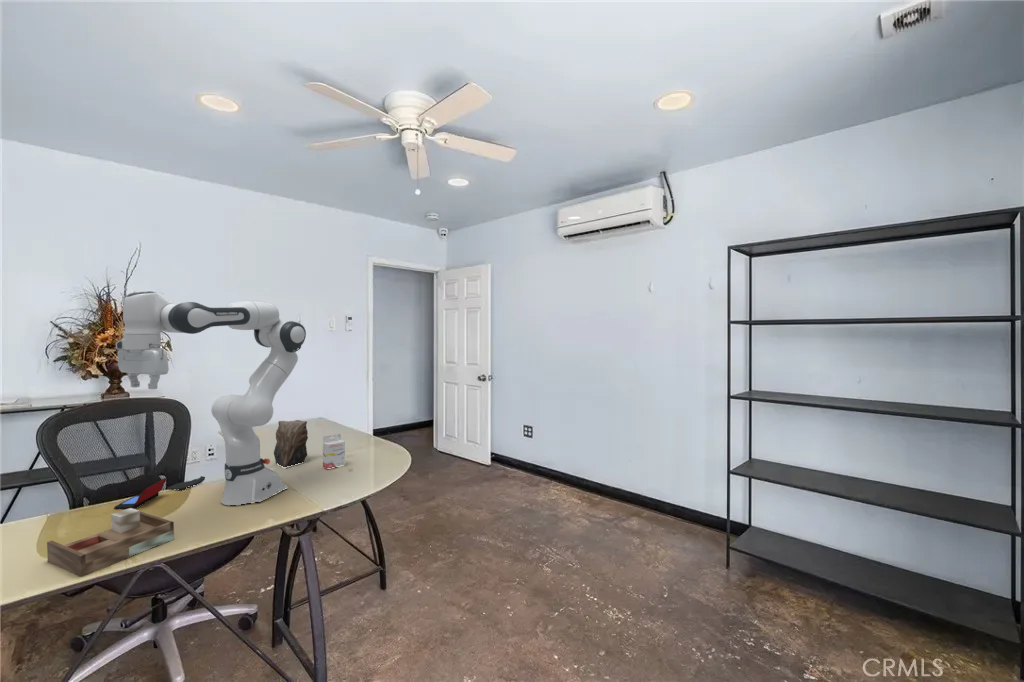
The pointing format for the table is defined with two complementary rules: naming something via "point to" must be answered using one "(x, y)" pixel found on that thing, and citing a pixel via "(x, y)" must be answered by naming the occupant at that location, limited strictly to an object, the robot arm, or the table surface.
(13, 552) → the table surface
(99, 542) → the box
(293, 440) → the owl
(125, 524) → the gray block
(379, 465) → the table surface
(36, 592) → the table surface
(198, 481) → the fan shaped piece
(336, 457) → the ink cartridge box
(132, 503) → the handheld game console
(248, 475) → the robot arm
